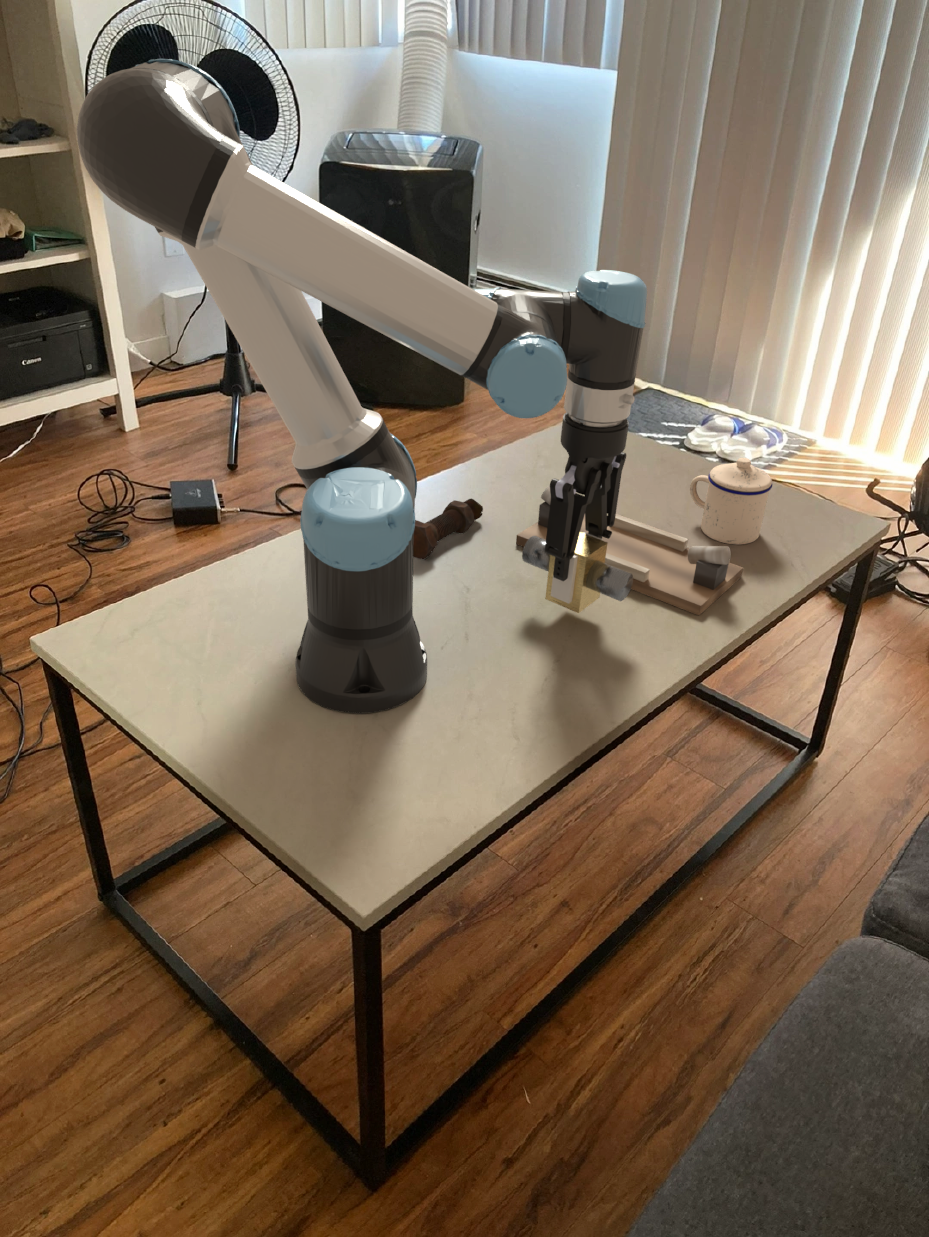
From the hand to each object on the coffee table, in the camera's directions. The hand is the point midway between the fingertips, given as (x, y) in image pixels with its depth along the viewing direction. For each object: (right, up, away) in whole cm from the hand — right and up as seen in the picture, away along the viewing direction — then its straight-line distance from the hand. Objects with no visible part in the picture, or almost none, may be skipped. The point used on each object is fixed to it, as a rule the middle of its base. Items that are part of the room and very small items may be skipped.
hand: (573, 589), depth 125 cm
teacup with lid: (+25, +10, +24) cm, 36 cm away
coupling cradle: (+9, +5, +15) cm, 18 cm away
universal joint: (0, -1, +1) cm, 1 cm away
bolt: (-16, +8, +19) cm, 26 cm away
